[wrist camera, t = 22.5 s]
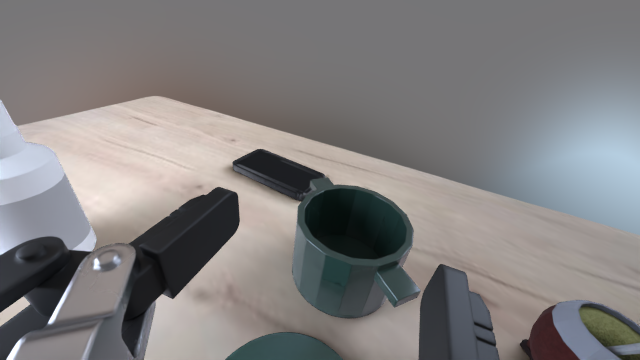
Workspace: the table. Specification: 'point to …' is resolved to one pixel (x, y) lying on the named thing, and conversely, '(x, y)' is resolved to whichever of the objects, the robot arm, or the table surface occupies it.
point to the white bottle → (36, 194)
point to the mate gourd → (583, 334)
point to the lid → (284, 348)
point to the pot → (351, 250)
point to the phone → (277, 173)
